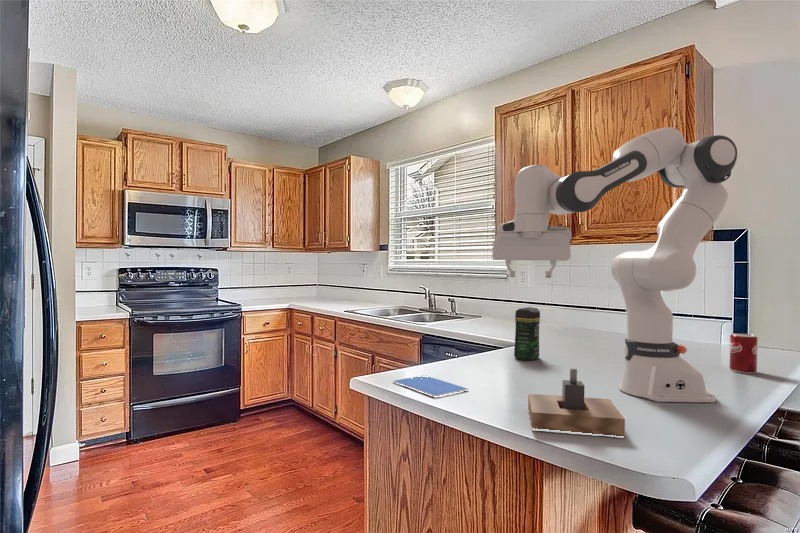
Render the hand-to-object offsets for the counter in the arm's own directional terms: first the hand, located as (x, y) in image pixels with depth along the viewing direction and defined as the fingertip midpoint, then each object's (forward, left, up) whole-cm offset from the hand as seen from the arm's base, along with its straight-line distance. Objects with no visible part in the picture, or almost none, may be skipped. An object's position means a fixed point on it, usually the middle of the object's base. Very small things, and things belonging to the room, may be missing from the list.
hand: (530, 277), depth 128 cm
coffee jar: (-2, -46, -31) cm, 56 cm away
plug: (-8, +23, -31) cm, 39 cm away
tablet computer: (+27, +1, -32) cm, 42 cm away
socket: (-8, +23, -31) cm, 39 cm away
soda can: (-70, -42, -31) cm, 87 cm away
